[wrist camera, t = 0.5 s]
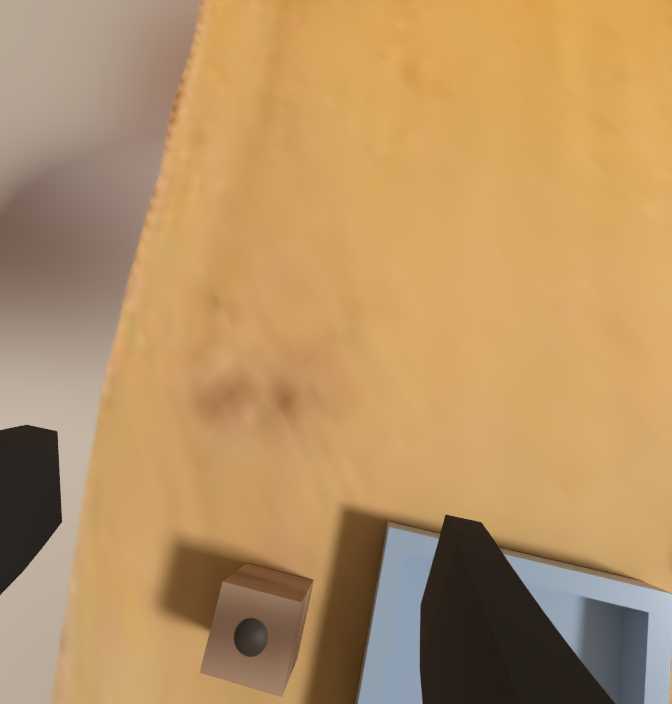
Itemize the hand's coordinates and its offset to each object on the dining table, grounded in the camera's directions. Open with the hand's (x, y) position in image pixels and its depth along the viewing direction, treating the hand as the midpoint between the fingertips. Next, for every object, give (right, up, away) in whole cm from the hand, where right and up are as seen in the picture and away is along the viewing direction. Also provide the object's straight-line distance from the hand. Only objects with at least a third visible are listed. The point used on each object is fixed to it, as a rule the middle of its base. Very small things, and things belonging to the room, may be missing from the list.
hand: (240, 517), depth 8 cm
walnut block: (-2, -13, +21) cm, 25 cm away
